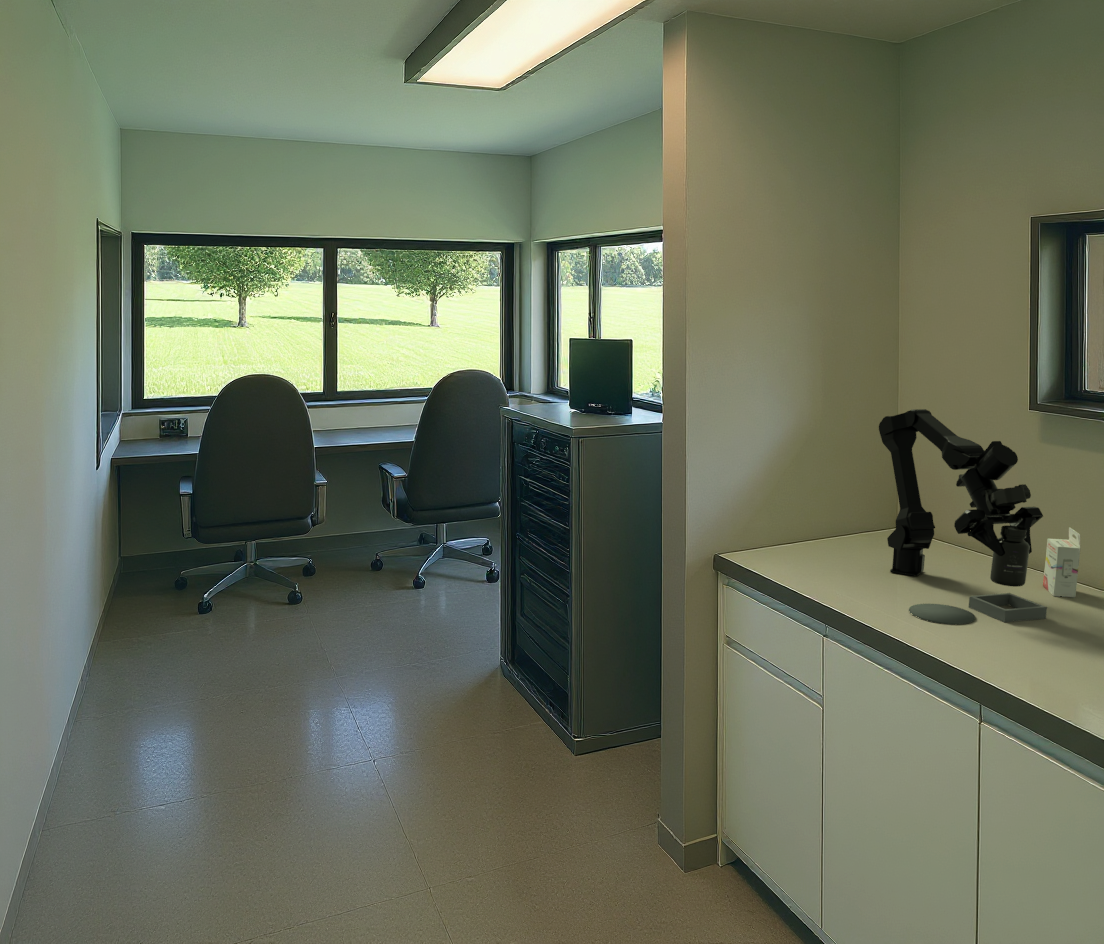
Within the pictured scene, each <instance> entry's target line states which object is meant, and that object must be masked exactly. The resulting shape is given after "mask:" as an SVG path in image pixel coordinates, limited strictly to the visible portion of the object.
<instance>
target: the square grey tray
mask: <svg viewBox="0 0 1104 944" xmlns="http://www.w3.org/2000/svg"><path fill="white" fill-rule="evenodd" d="M1001 606H1009V607H1012V608H1003V607H1001ZM968 608H969V609H972V610H974V611H977V612H979V613H981V614H983V615H986V616H988V617H991V618H992V619H995V620H998V621H1000V622H1003V623H1012V622H1023V621H1032V620H1033V621H1034V620H1043V619H1046V620H1047V611H1048V607H1047V606H1045V605H1043V604H1041V603H1037V602H1034V601H1032V600H1029V599H1027V598H1024V597H1021V596H1019V595H1016V594H1014V593H1011V592H1005V593H1003V592H1002V593H992V594H991V593H990V594H989V593H988V594H980V595H978V594H977V595H969V597H968Z"/></svg>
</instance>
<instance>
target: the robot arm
mask: <svg viewBox="0 0 1104 944" xmlns="http://www.w3.org/2000/svg"><path fill="white" fill-rule="evenodd" d="M878 432H879V436H880V438H881V441H882V444H883V445H884V446H885V448H886V449H887V450H888V451H889V452H890V455H891V456H890V457H891V463H892V467H893V474H894V478H895V479H894V480H895V486H896V491H897V496H898V503H899V511H898V514H897V516H896V519H895V529H894V530H893V531H892V532H891V533H890V534H889V535H888V536H887V546H888V547H889V548H892V549H893V554H892V567H891V568H890V570H889V573H894V574H900V575H901V574H902V575H906V576H912V577H914V576H915V577H918V576H919V575H920V574H922V573H923V572H924V571H925V560H926V559H925V557H926V556H925V554H924V549H926V550H927V549H930V547H931V544H932V542H933V539H934V536H935V529H936V525H935V523H934V515H933V513H932V512H931V511H927V510H925V509H924V507H923V506H922V502H921V500H922V499H921V494H920V489H919V488H920V487H919V484H918V477H917V471H916V465H915V459H914V453H913V448H914V445H915V443H916V440H917V438H918V437H917V433H918V432H919V433H920V434H921V435H923V437H924V438H926V439H927V441H930V442H931V443H932V444H933V446H934V447H936V448H937V449H938V450H939V451H940V453H941V458H942V460H943V461H944V462H945V463H946V465H947V466H948V467H949V469H951V470H954V471H956V470H961V471H962V470H966V471H965V472H964V473H963V474H959V475H958V479H957V481H956V483H955V485H956V487H959V488H960V487H965V489H966V491H967V493H968V495H969V496H970V498H971V501H970V503H969V506H970V508H971V509H965V511H964V512H962V513H961V515H959V516H958V517H957V519H955V520H954V525H953V526H954V529H955V530H956V532H957V534H958V535H963V534H967V536H968V537H972V538H974V539H975V540H977V541H978V542H979V543H981V544H982V545H984V546H985V547H987V548H988V549H989V550H991V551H992V553H993V552H995V553H996V554H997V555H999V556H1002V555H1003V554H1004V552H1003V550H1002V547H1001V545H1000V542H999V540H998V538H999V537H998V536H997V534H996V532H995V530H994V525H1003V524H1004V525H1006V524H1008V525H1009V526H1018V527H1022V528H1025V529H1026V538H1024V540H1025V541H1026V542H1027V543H1028V544H1029V546H1030V550H1029V555H1030V554H1031V553H1032V551H1033V549H1032V541H1031V528H1032V527H1033V526H1034V525H1035V524H1036V523H1037V522H1039V521H1040V520H1041V519H1042V518H1043V517H1044V515H1043V512H1042V511H1041V509H1040V508H1039V507H1037V506H1021V507H1020V508H1019V509H1018V510H1017V511H1016V512H1015V513H1011V511H1014V510H1015V509H1016V508H1017V507H1016V505H1018V504H1021V503H1023V504H1024V503H1027V500H1029V499H1031V497H1032V494H1031V490H1030V489H1029V487H1028V486H1027V484H1024V483H1023V484H1018V485H1015V486H1013V487H1006V488H998V487H997V485H996V483H995V481H999V480H1001V479H1002V478H1004V476H1005V475H1006V474H1008V473H1009V472H1010V470H1012V468H1014V467H1015V465H1016V464H1018V462H1019V458H1018V455H1017V453H1016V452H1015V451H1014V450H1012V449H1011V448H1010V447H1008V446H1007V445H1005V444H1003V443H1002V441H1001V440H992V441H991V443H989V445H988V447H986V448H985V449H984V448H983V446H982V445H981V444H979V443H976V442H975V441H973V440H970V439H969V438H968V439H967V438H964V437H961V436H958V435H957V434H956V433H955V432H953V431H952V430H951V429H950V428H948V427H947V426H946V425H945V424H943V422H941V421H940V420H939V419H938V418H936V417H935V416H934V415H933V414H932V412H931V411H930V410H928V409H924V408H923V409H922V408H918V409H917V408H915V409H910V410H907V411H906V412H902V413H898V414H895V415H887V416H884V417H883V418H882V419H881V421H879V424H878ZM973 508H975V509H973Z"/></svg>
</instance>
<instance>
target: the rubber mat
mask: <svg viewBox="0 0 1104 944" xmlns="http://www.w3.org/2000/svg"><path fill="white" fill-rule="evenodd" d="M909 611H910V613H912V614H913V615H914V616H913V615H912V616H913V617H915V616H917V617H919V618H921V619H920V620H922V619H925V620H924V621H926V620H928V621H927V622H930V621H932V622H931V623H935V622H936V624H941V623H944V624H943V625H955V624H957V625H967V624H971V623H973V622H974V621H975V620H976V615H975V614H974V613H973V612H971V611H969V610H966V609H964V608H961V607H957V606H952V605H949V604H942V603H941V604H940V603H917V604H913V605H911V606H910V607H909V608H908V612H909ZM910 613H909V614H910ZM917 617H916V618H917ZM919 618H918V619H919Z"/></svg>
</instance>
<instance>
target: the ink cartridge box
mask: <svg viewBox="0 0 1104 944" xmlns="http://www.w3.org/2000/svg"><path fill="white" fill-rule="evenodd" d="M1045 552H1046V553H1045V562H1044V572H1043V582H1042V587H1043V586H1044V587H1043V588H1044V589H1045V590H1046V591H1047V592H1048V593H1049V594H1051V595H1052V596H1053V597H1060V596H1062V597H1063V598H1076V595H1077V585H1078V577H1079V576H1078V575H1079V566H1080V556H1081V534H1080V533H1079V532H1078V531H1076V530H1074V529H1073V528H1071V526H1070V527H1068V539H1065V538H1063V539H1061V538H1049V537H1048V538H1047V539H1046V551H1045Z"/></svg>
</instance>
